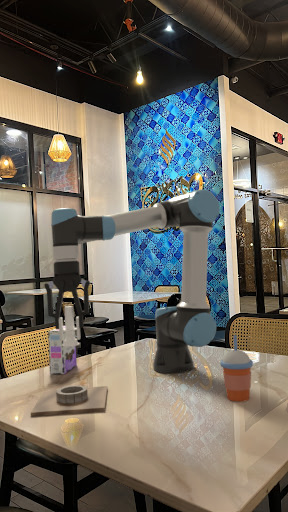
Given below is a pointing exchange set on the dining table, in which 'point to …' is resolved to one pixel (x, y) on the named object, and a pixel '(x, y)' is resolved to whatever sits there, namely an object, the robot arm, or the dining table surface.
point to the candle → (69, 328)
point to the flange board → (71, 400)
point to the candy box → (60, 353)
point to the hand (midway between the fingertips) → (70, 339)
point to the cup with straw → (237, 374)
